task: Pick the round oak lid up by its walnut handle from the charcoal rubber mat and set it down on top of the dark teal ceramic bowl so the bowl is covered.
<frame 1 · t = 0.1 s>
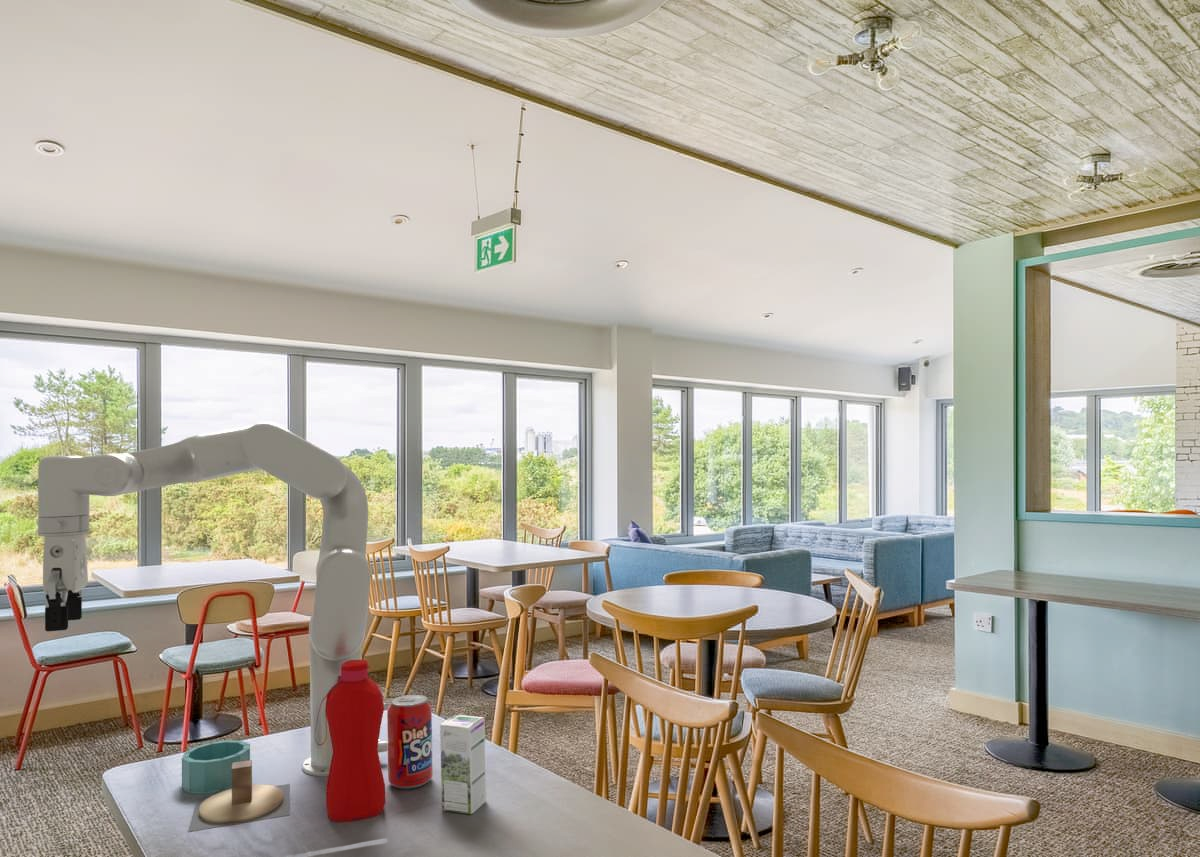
hand: (64, 625, 142), 31 cm above the table, tool pointing down, fingers open, 9 cm apart
syrup box: (464, 807, 137), on the table
water bottle: (350, 814, 136), on the table
soda can: (410, 784, 148), on the table
lid: (242, 806, 138), point 1 cm above the table, touching mat
bowl: (216, 784, 149), on the table
mat: (242, 809, 138), on the table
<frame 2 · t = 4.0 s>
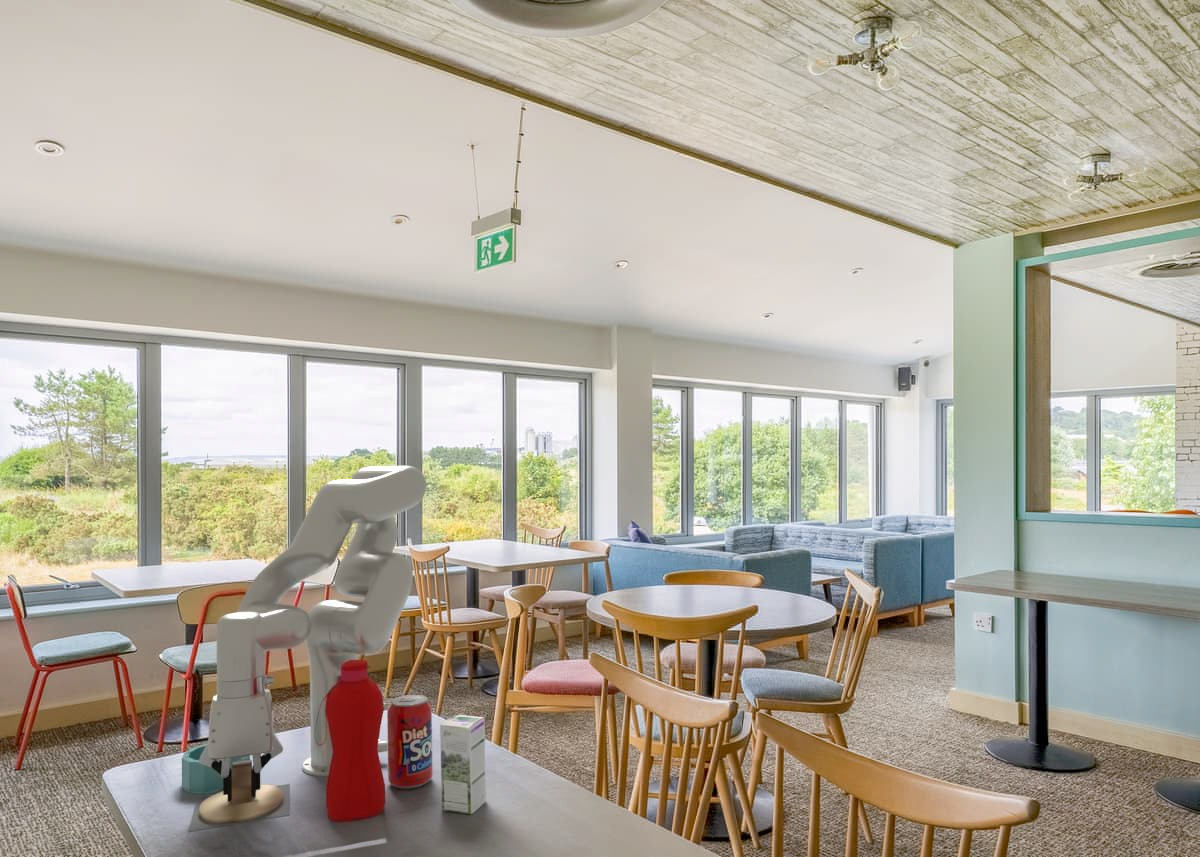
hand: (242, 795, 138), 2 cm above the table, tool pointing down, fingers closed on lid, 3 cm apart
lid: (242, 806, 138), point 1 cm above the table, touching gripper, mat
everything else where it was.
when the fingers open (9 cm above the table, at t = 8.5 s): lid drops 1 cm, resting on bowl.
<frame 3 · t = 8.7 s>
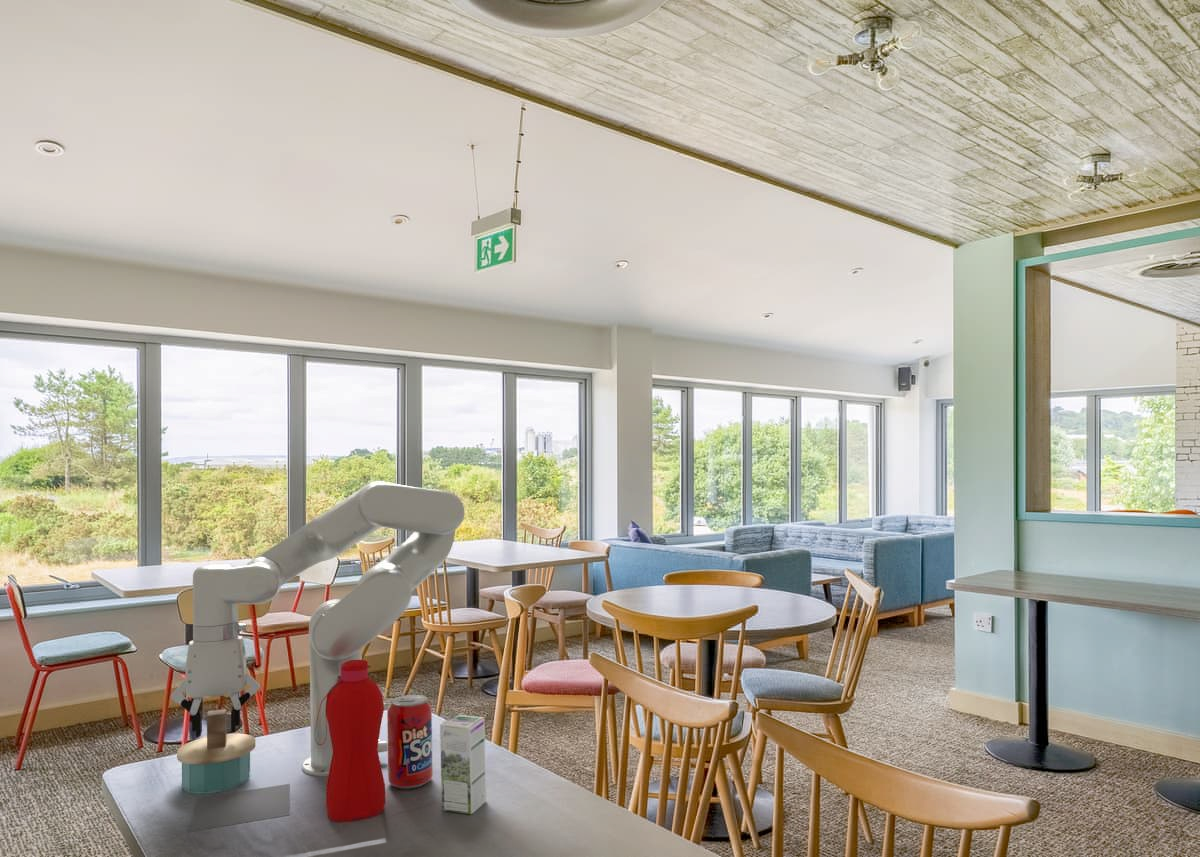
hand: (216, 731, 150), 10 cm above the table, tool pointing down, fingers open, 5 cm apart
lid: (217, 751, 150), point 6 cm above the table, touching bowl
everything else where it was.
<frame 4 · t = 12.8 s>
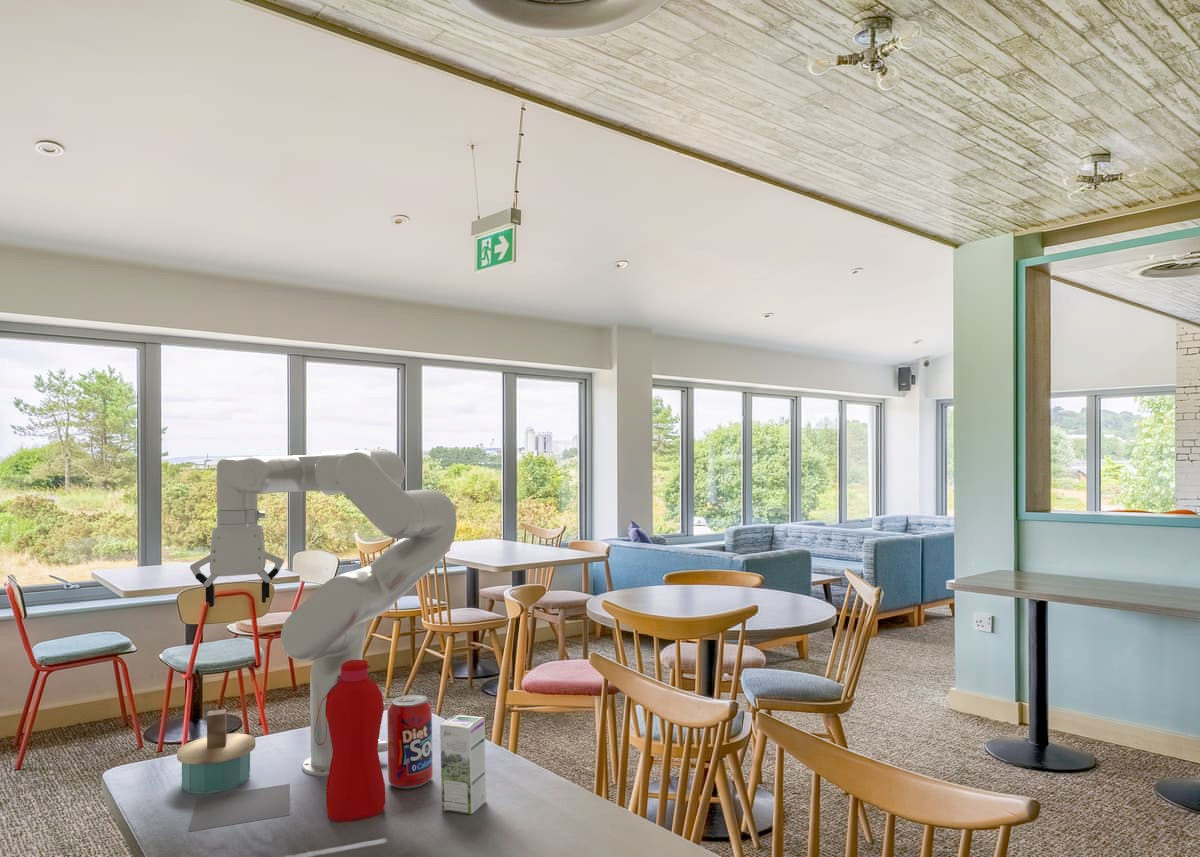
hand: (238, 603, 165), 30 cm above the table, tool pointing down, fingers open, 9 cm apart
nothing on the table moved.
at the end: lid 0.1 cm off-centre on the bowl, point 6.0 cm above the bowl's base; lid tilted 0°; the gripper is holding nothing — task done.
